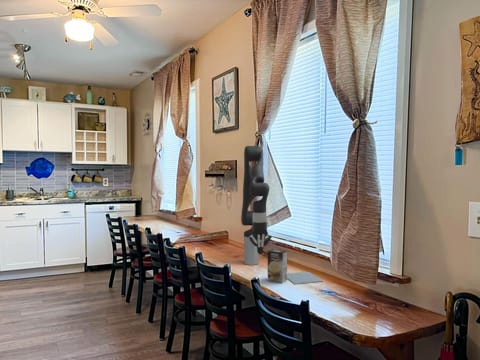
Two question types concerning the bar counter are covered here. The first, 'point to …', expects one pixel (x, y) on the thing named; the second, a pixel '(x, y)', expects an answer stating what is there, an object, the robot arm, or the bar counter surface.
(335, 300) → the bar counter surface
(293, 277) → the mat
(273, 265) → the coffee box
